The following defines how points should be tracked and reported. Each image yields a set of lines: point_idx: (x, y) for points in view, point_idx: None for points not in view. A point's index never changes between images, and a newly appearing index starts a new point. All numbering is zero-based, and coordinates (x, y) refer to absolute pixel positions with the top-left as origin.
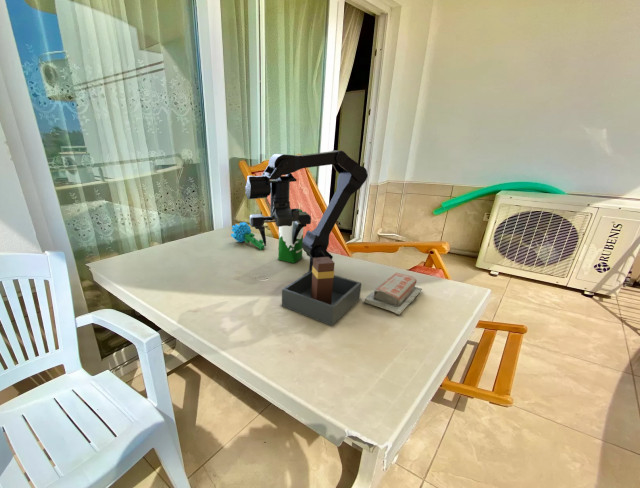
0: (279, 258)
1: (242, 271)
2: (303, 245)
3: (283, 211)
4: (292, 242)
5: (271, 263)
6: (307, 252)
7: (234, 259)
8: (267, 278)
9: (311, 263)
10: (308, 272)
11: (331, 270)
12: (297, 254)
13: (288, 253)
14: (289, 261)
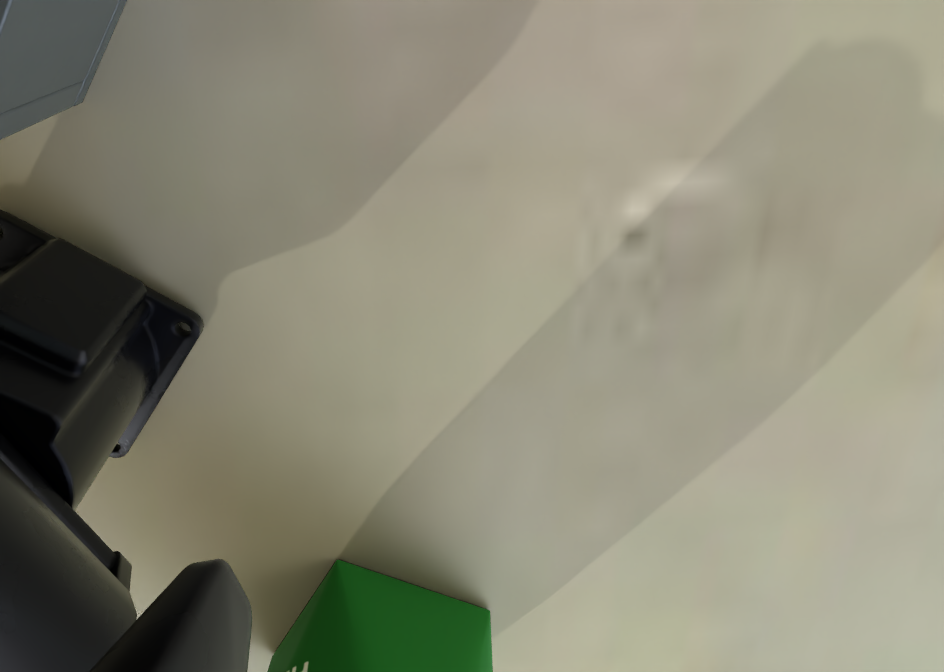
0: (480, 618)
1: (872, 378)
2: (86, 660)
3: None
4: (232, 621)
5: (557, 545)
6: (18, 496)
7: (888, 591)
8: (628, 234)
9: (46, 378)
10: (2, 5)
11: None
12: (297, 649)
13: (392, 653)
14: (385, 580)
